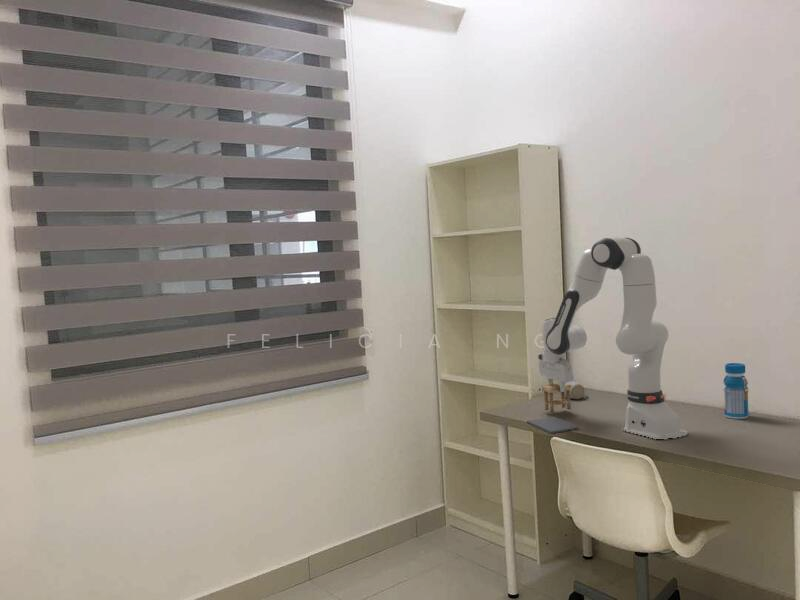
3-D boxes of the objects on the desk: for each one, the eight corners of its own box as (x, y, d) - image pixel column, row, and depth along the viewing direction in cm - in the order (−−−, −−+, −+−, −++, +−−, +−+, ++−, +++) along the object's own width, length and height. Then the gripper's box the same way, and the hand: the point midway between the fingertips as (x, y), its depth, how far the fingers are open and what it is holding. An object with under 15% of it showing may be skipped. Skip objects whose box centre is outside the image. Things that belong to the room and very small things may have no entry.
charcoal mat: (579, 429, 240) (579, 427, 240) (551, 433, 236) (550, 431, 236) (553, 418, 257) (553, 416, 257) (526, 422, 253) (526, 420, 253)
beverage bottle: (731, 420, 239) (729, 367, 238) (719, 414, 248) (718, 363, 246) (753, 418, 239) (752, 365, 238) (741, 413, 248) (739, 361, 246)
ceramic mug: (572, 401, 284) (571, 383, 284) (561, 397, 292) (560, 380, 291) (592, 398, 288) (591, 381, 287) (580, 395, 295) (580, 378, 295)
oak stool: (564, 406, 269) (563, 382, 269) (572, 409, 264) (571, 385, 263) (543, 409, 266) (542, 385, 266) (551, 412, 260) (549, 388, 260)
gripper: (575, 358, 255) (577, 393, 255) (548, 353, 274) (550, 385, 275) (561, 360, 253) (564, 395, 254) (535, 354, 272) (537, 387, 273)
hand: (556, 390), depth 264 cm, fingers closed on oak stool, 6 cm apart
